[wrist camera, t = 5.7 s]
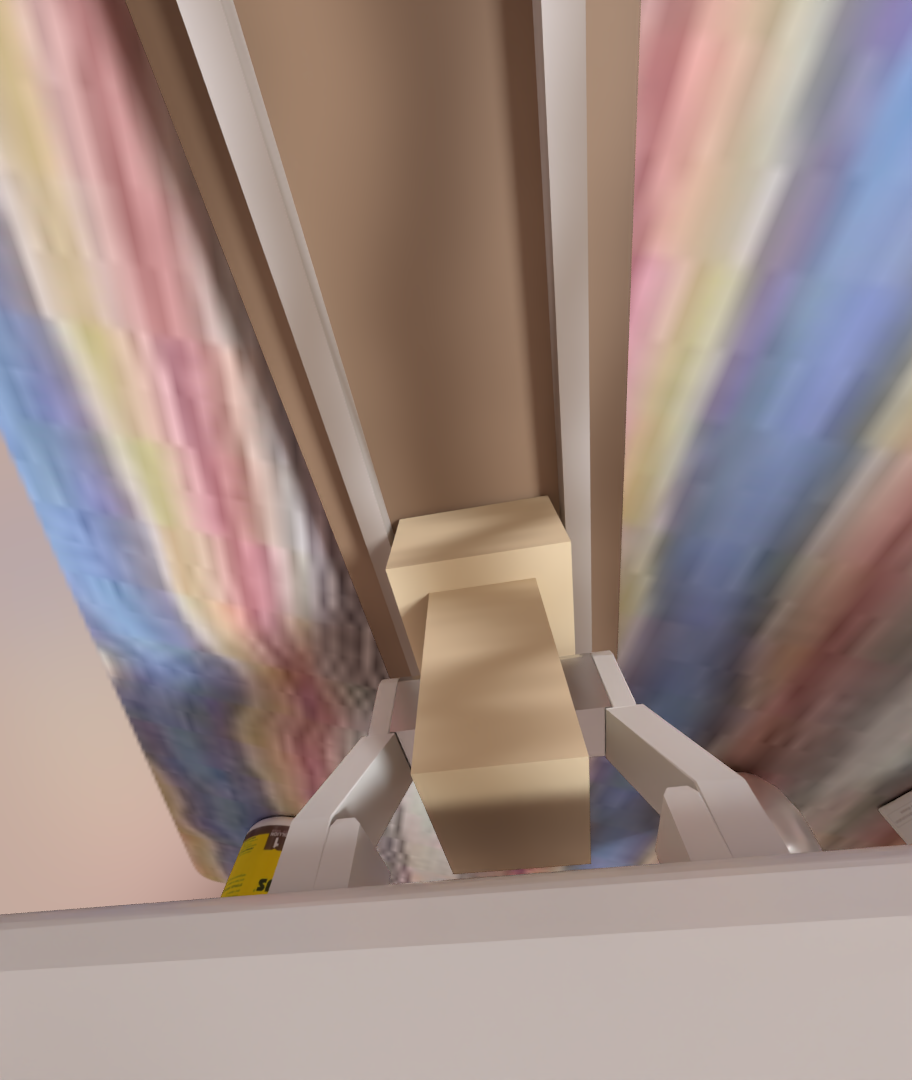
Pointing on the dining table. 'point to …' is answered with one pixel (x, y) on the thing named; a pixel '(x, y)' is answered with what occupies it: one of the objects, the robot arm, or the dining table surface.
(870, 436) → the dining table surface
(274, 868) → the supplement bottle
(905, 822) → the supplement box
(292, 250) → the rail board
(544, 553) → the block
